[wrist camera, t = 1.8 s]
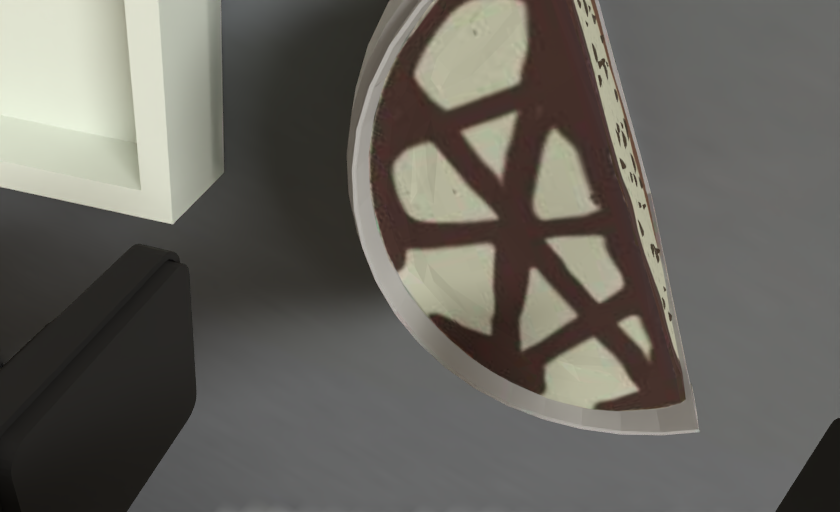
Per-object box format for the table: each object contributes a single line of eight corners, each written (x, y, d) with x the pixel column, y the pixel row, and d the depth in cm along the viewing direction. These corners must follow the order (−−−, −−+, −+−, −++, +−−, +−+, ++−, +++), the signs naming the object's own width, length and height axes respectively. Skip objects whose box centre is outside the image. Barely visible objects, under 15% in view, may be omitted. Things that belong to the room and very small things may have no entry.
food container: (355, -64, 21) (211, 13, 13) (556, -153, 19) (538, -128, 11) (492, 273, 27) (451, 483, 18) (662, 232, 25) (704, 449, 16)
